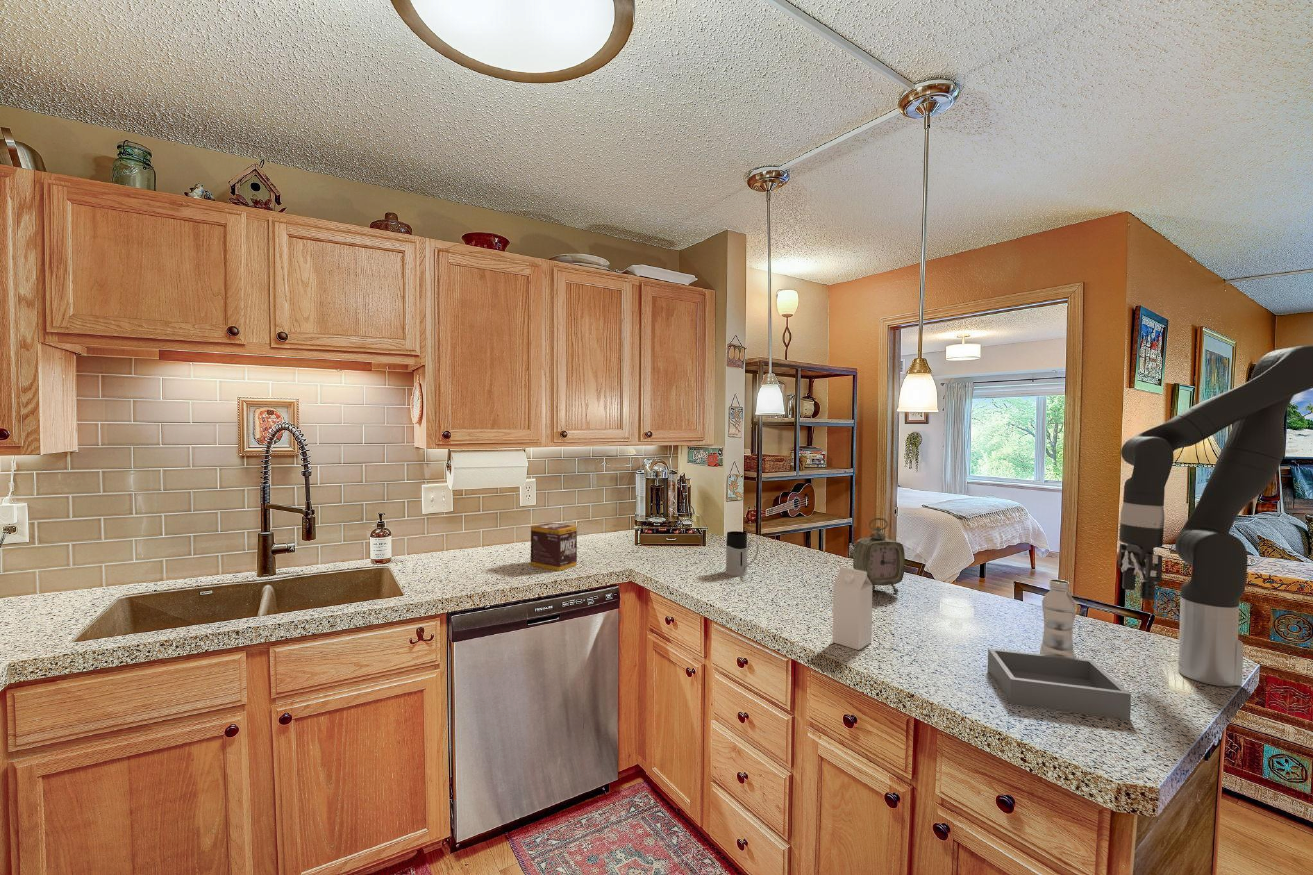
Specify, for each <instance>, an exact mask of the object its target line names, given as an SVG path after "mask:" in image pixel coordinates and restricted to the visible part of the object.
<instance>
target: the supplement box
mask: <svg viewBox="0 0 1313 875" xmlns="http://www.w3.org/2000/svg"><path fill="white" fill-rule="evenodd" d="M577 553H578V526H577V525H572V524H571V525H570V524H563V523H556V522H545V523H541V524H536V525H535V524H534V525H530V562H529V563H530V566H533V567H537V568H542V569H548V570H552V571H557V572H561V571H565V570H568V569H569V568H573V567H576V566H578V565H577V564H578V562H577V560H578V558H577V557H578V554H577Z"/></svg>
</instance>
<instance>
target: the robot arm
mask: <svg viewBox="0 0 1313 875" xmlns="http://www.w3.org/2000/svg"><path fill="white" fill-rule="evenodd" d="M1311 389H1313V345H1298V346H1296V345H1295V346H1292V347H1285V348H1280V349H1275V350H1272V351H1270V352H1267V353H1266V354H1265V355H1263V356H1262V357H1261V358H1260V359H1259V360H1258V361H1257V363H1256V364H1255V366H1254V368H1253V371H1252V374H1251V376H1250V380H1249V381H1247V382H1245V383H1243V384H1241V385H1239V386H1237V387H1234V388H1232V389H1230V390H1227V391H1225V392H1222V393H1219V394H1218V395H1214V396H1213V397H1210V398H1208V399H1207V398H1206V399H1205V400H1203V401H1200V402H1199V403H1196V404H1195V405H1193V406H1191V407H1189V408H1188V409H1186V410H1184V411H1182V412H1181V413H1179V414H1177V415H1175V416H1173V417H1172V418H1170V419H1168V420H1167V421H1166V422H1164V423H1161V424H1159V425H1156V426H1153V427H1151V428H1149V429H1146V430H1145V431H1143V432H1140V433H1138V434H1136V435H1134V436H1133V437H1131V438H1129V439H1127V441H1125V443H1124V444H1123V445H1122V446H1121V449H1120V450H1121V451H1120V454H1121V457H1122V459H1123V461H1124V462H1126V463H1127V464H1129V465H1130V466H1132V467H1133V469H1132V472H1131V473H1132V474H1131V476H1130V477H1129V478H1127V479H1126V480H1125V482H1124V487H1123V497H1122V498H1123V499H1122V507H1121V511H1120V521H1119V535H1118V536H1119V538H1118V540H1119V542H1121V543H1120V544H1119V550H1118V551H1119V552H1118V560H1117V561H1118V562H1117V567H1118V568H1119V569H1120V571H1121V572H1122V582H1121V583H1122V584H1121V587H1122V589H1124V590H1128V591H1135V590H1136V576H1137V574H1138V575H1139V579H1140V589H1139V597H1140V598H1141V599H1142V600H1146V601H1147V600H1148V601H1153V600H1154V598H1155V585H1156V584H1157V583H1159V584H1160V583H1162V580H1163V577H1162V576H1163V575H1162V574H1163V556H1162V554H1155V553H1154V552H1155V550H1154V549H1155V548H1161V547H1163V545H1164V529H1165V519H1166V518H1165V509H1164V507H1165V495H1166V494H1165V488H1166V484H1167V482H1168V479H1169V476H1170V474H1171V471H1172V468H1173V463H1174V458H1175V457H1174V451H1177V450H1179V449H1183V448H1186V447H1187V448H1188V447H1192V446H1194V445H1197V444H1199V443H1201V442H1202V441H1205V440H1207V439H1208V438H1210V437H1212V436H1214V435H1215V434H1217V433H1219V432H1220V431H1222V430H1224V429H1226V428H1227V427H1230V426H1231V425H1233V426H1232V428H1231V430H1230V432H1229V434H1228V437H1227V438H1226V441H1225V443H1224V445H1223V446H1222V448H1221V450H1220V452H1219V455H1218V457H1217V459H1216V461H1215V465H1214V467H1213V469H1212V472H1211V474H1210V476H1209V478H1208V480H1207V483H1206V484H1205V486H1204V489H1203V491H1202V493H1201V496H1200V498H1199V499H1198V500H1199V501H1198V502H1197V504H1196V505H1195V507H1194V509H1193V510H1192V512H1191V514H1190V516H1189V517H1188V518H1187V520H1186V522H1185V523H1184V525H1183V526H1182V528H1181V529H1180V531H1179V533H1178V535H1177V537H1176V539H1175V552H1176V553H1177V556H1178V557H1179V558H1180V559H1181V560H1182V561H1183V562H1185V563H1187V564H1189V565H1191V577H1190V580H1189V582H1185V583H1182V585H1181V586H1180V603H1179V604H1180V606H1179V607H1180V608H1179V634H1178V635H1179V636H1178V638H1179V640H1178V663H1177V666H1178V667H1177V668H1178V669H1177V671H1178V672H1179V674H1181V675H1182V676H1184V677H1186V678H1189V679H1191V680H1193V681H1197V682H1200V683H1204V684H1209V685H1213V686H1218V687H1235V686H1240V687H1242V686H1243V664H1244V662H1243V661H1244V643H1243V641H1241V640H1240V639H1239V618H1240V617H1239V616H1240V614H1239V613H1240V599H1241V598H1242V597H1243V595H1244V593H1245V592H1246V591H1245V590H1246V583H1247V582H1246V581H1247V575H1248V574H1247V573H1248V551H1247V548H1246V546H1245V544H1244V543H1243V540H1241V539H1239V537H1237V536H1236V535H1233V534H1231V533H1230V531H1232V527H1233V526H1234V522H1235V520H1236V519H1237V517H1238V515H1239V514H1240V512H1241V511H1242V510H1243V509H1244V508H1245V507H1246V506H1248V504H1249V503H1251V502H1252V501H1253V500H1255V498H1256V497H1258V496H1259V495H1260V494H1261V493H1263V491H1265V490H1266V489H1267V487H1268V486H1269V485H1270V484H1271V482H1272V481H1273V480H1274V477H1275V476H1276V474H1277V472H1278V469H1279V468H1280V465H1281V463H1282V461H1283V459H1284V456H1285V452H1286V438H1285V437H1286V436H1285V430H1284V429H1285V428H1284V419H1285V416H1286V412H1287V409H1288V407H1289V405H1290V403H1291V401H1292V399H1293V398H1294V396H1295V395H1298V394H1301V393H1303V392H1306V391H1309V390H1311Z"/></svg>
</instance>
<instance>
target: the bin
mask: <svg viewBox="0 0 1313 875" xmlns="http://www.w3.org/2000/svg"><path fill="white" fill-rule="evenodd" d="M987 671H988V673H989V674H990V676H991V677H992V679H993V680H994V682H995V684H996V685H997V686H998V688H999V689H1000V691H1001V692H1002V694H1003V695H1004V696H1005V698H1006V700H1007V701H1008V702H1009V704H1011V705H1017V706H1024V707H1031V708H1032V707H1033V708H1038V709H1047V710H1053V711H1061V712H1068V713H1076V714H1083V715H1090V716H1098V717H1103V718H1104V717H1105V718H1113V719H1119V720H1127V721H1130V720H1131V704H1132V703H1131V702H1132V694H1131V692H1129V690H1127V689H1126V688H1124V687H1123V686H1122V685H1121V684H1120V683H1119V682H1118V681H1116V680H1115V679H1114V678H1113V676H1111V675H1110V674H1108V672H1106V671H1105V670H1104V669H1103V668H1102V667H1100V665H1098V664H1097V662H1095V661H1094V660H1093V659H1085V658H1077V657H1075V658H1069V657H1060V656H1051V655H1043V654H1040V653H1032V652H1022V651H1016V650H1015V651H1014V650H1005V649H996V648H988V649H987Z"/></svg>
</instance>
